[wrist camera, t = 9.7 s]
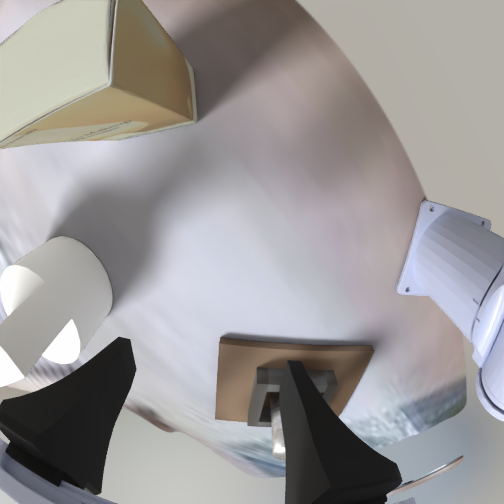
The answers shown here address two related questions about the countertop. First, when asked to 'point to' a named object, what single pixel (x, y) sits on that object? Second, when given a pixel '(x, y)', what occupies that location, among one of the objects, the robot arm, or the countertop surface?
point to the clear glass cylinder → (277, 428)
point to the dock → (271, 373)
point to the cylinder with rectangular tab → (51, 306)
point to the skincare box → (92, 76)
